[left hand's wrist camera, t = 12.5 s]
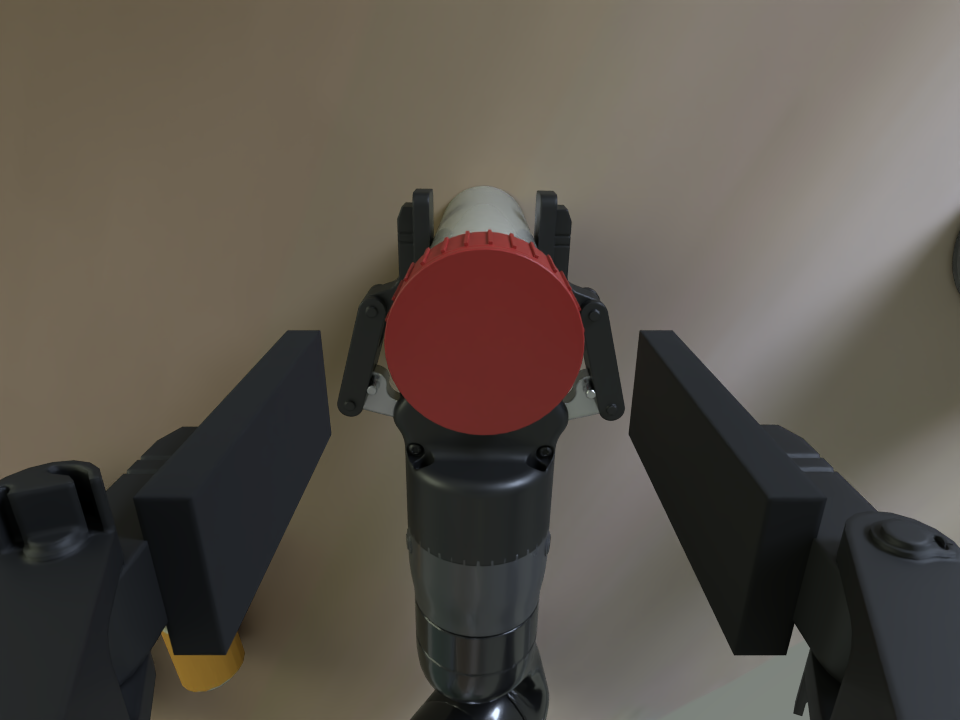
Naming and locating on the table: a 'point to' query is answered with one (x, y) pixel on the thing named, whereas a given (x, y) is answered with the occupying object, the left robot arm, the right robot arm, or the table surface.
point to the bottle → (483, 215)
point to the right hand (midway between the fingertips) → (485, 193)
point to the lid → (484, 334)
